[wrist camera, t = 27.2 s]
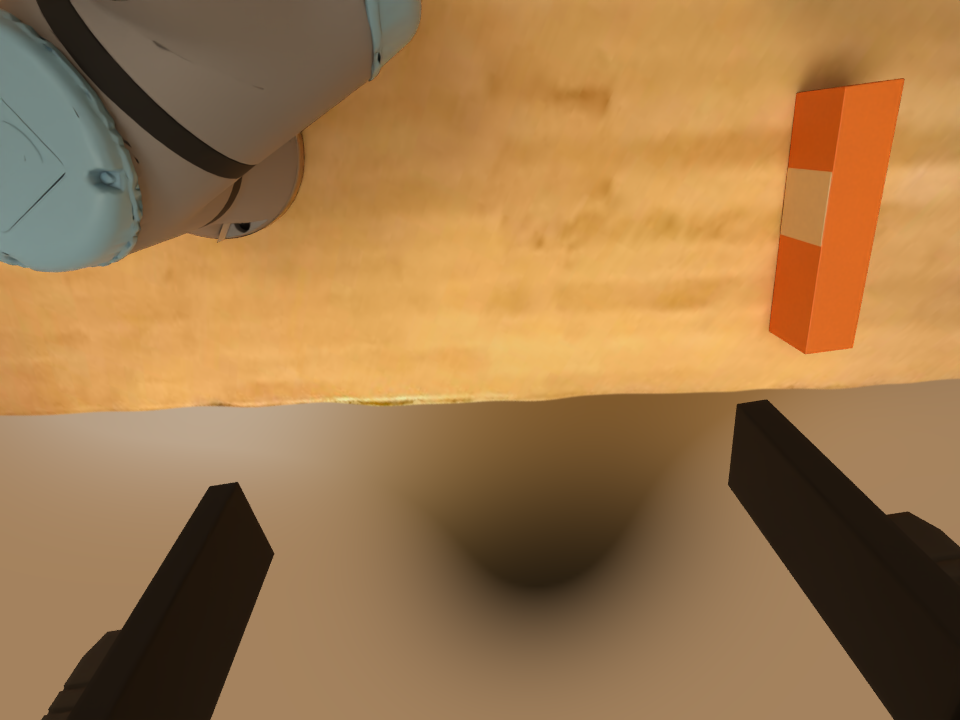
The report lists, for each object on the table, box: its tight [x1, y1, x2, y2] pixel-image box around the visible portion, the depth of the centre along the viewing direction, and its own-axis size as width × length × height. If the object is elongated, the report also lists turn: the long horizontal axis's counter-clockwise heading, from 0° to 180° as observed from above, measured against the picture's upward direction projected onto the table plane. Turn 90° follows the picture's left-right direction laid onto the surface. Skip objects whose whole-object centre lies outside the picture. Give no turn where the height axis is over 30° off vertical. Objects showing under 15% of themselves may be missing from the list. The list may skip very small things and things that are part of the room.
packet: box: [769, 78, 904, 354], centre depth 44 cm, size 22×4×6 cm, turn 8°
